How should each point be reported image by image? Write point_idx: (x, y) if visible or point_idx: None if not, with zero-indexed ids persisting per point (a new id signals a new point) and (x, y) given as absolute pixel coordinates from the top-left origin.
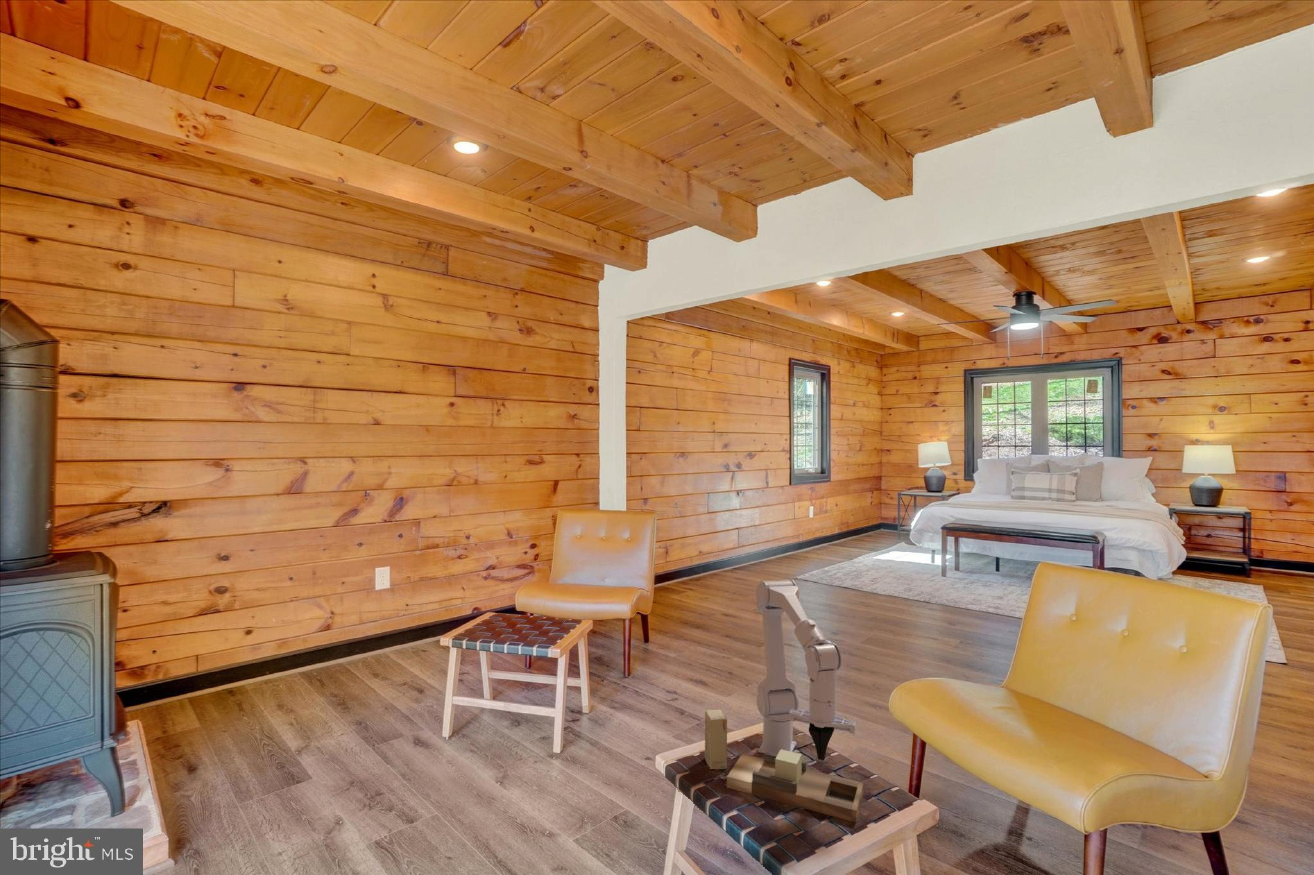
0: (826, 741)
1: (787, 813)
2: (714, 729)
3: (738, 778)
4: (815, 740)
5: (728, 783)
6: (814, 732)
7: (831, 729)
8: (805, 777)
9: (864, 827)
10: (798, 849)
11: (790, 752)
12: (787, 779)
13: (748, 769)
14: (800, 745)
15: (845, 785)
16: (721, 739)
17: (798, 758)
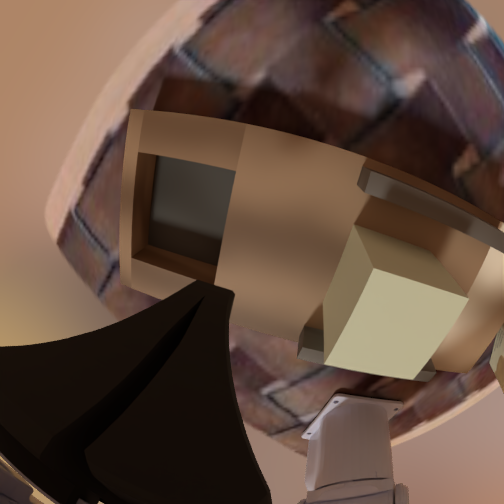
0: (78, 347)
1: (384, 104)
2: None
3: None
4: (204, 390)
5: None
6: (161, 488)
7: (5, 433)
8: (308, 292)
9: (134, 96)
10: None
11: (377, 367)
12: (393, 242)
13: (486, 302)
14: (292, 431)
15: (167, 267)
16: None
17: (351, 326)
